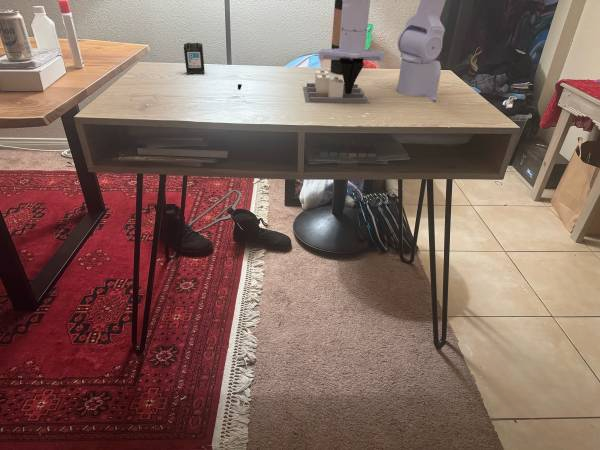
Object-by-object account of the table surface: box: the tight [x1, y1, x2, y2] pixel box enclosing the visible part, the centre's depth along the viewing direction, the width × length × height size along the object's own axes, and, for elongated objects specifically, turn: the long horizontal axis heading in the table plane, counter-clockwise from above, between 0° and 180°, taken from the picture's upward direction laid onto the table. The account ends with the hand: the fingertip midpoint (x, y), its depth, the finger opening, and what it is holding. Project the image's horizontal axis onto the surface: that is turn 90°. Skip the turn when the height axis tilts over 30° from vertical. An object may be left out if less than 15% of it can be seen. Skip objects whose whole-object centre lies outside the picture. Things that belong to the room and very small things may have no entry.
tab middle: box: [316, 72, 331, 93], centre depth 103 cm, size 3×3×5 cm
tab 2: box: [328, 76, 344, 98], centre depth 99 cm, size 3×3×5 cm
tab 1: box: [314, 67, 330, 88], centre depth 106 cm, size 3×3×5 cm
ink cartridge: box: [183, 42, 206, 75], centre depth 119 cm, size 5×2×8 cm, turn 99°
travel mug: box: [330, 0, 343, 76], centre depth 119 cm, size 8×8×20 cm
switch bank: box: [302, 82, 371, 105], centre depth 104 cm, size 15×13×2 cm
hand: (347, 92), depth 100 cm, fingers closed
